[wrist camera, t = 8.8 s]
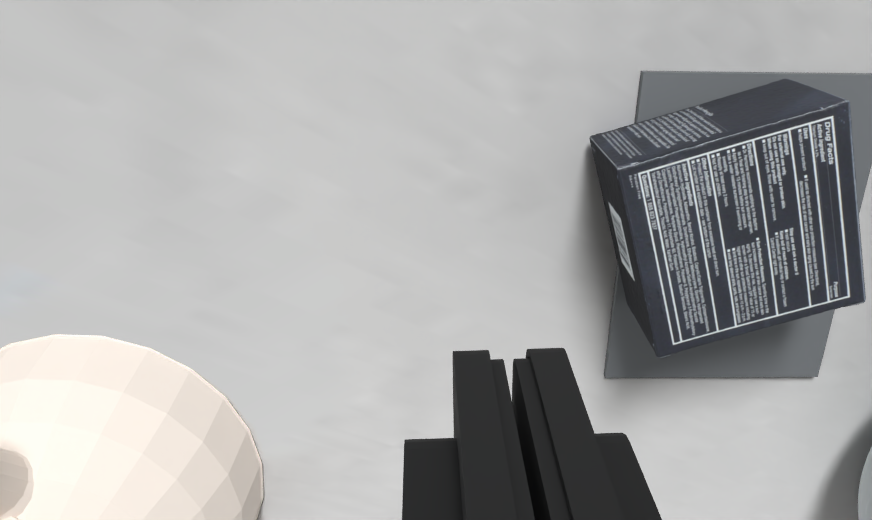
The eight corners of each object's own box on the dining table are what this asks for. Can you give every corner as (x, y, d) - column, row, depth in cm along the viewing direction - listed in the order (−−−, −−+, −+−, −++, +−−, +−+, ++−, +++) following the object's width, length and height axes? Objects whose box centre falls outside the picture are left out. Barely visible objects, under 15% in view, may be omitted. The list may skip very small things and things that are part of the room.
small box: (623, 305, 43) (807, 257, 42) (656, 364, 37) (871, 310, 36) (586, 131, 39) (788, 73, 38) (615, 166, 33) (857, 99, 32)
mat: (889, 73, 39) (894, 75, 38) (814, 373, 46) (817, 376, 45) (641, 70, 38) (643, 72, 38) (603, 374, 45) (605, 377, 45)
